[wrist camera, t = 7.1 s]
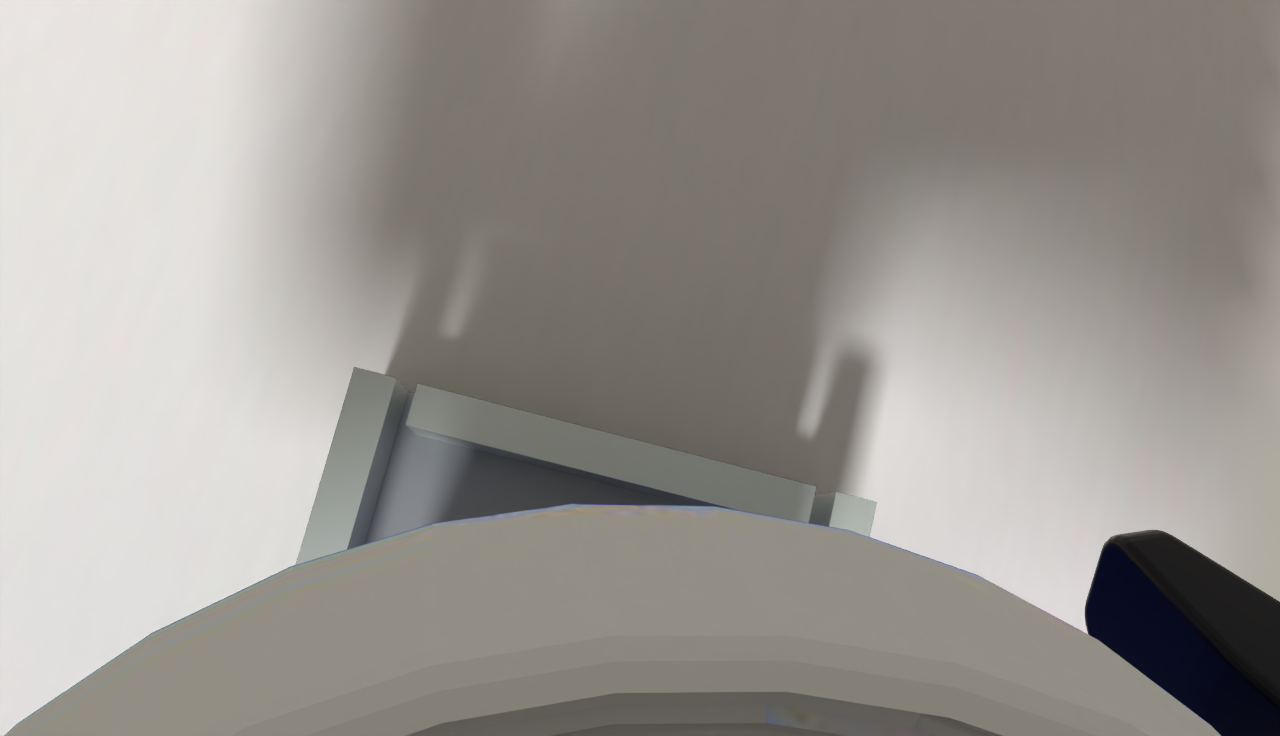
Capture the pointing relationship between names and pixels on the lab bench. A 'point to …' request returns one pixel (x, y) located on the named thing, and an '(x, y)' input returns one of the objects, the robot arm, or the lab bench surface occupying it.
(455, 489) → the can holder
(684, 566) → the beverage can
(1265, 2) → the lab bench surface
